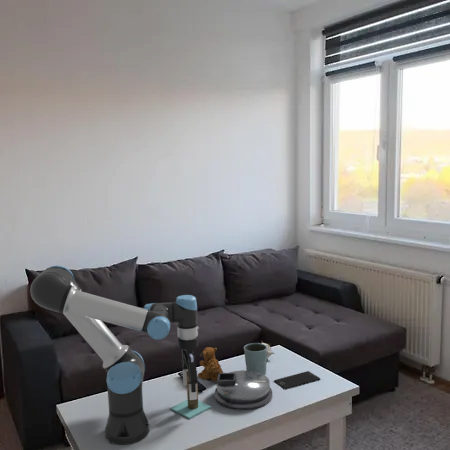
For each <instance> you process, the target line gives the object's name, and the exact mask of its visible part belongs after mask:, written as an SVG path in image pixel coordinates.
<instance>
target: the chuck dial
mask: <svg viewBox="0 0 450 450" xmlns="http://www.w3.org/2000/svg"><path fill="white" fill-rule="evenodd" d="M270 383H271V382H270V378H269V377H268V376H266V374H265V375H263V374H261V373H258V372H254V371H246V370H233V371H230V372H223V373H219V374H218V378H217V382H216V388H217V394H218V396H219V397H220V398H221V399H222V400H224V401H227V402H230V403H234V404H252V403H256V402H260V401H262V400H264V399H265V398H267V397H268V395H269V393H270V388H271V387H270V386H271V385H270Z"/></svg>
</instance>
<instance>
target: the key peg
mask: <svg viewBox="0 0 450 450" xmlns="http://www.w3.org/2000/svg"><path fill="white" fill-rule="evenodd" d="M186 375H187V386H186V394H187V399H188V408H189V409H197V408H198V400H199V391H198V390H199V388H198V386H199V385H198V384H199V383H198V384H197V399H196V400H190V398H189V384H188V382H190V381H189V374H188V371H187V372H186Z"/></svg>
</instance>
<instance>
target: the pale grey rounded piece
mask: <svg viewBox="0 0 450 450" xmlns="http://www.w3.org/2000/svg"><path fill="white" fill-rule="evenodd" d="M260 342H261V344H264V345H266V346H267V355H266V357H267V360H268V359H269V358H270V357H271V356H272V355H274V354H275V352H273V350H272V347H271V343H270V342H269V343H265V342H263V340H261V341H260Z"/></svg>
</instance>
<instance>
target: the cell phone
mask: <svg viewBox="0 0 450 450" xmlns="http://www.w3.org/2000/svg"><path fill="white" fill-rule="evenodd" d="M273 381H274V383H275V384H276V385H278V386H280V387H281V388H282V389H284V390H289V389H293V388H297V387H300V386H304V385H307V384H310V383H313V382H318V381H321V378H320V377H319V376H317V375H316V374H314V373H312V372H311V371H310V370H308V371H307V370H306V371H303V372H298V373H296V374H293V375H289V376H284V377H281V378H277V379H274V380H273Z"/></svg>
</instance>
